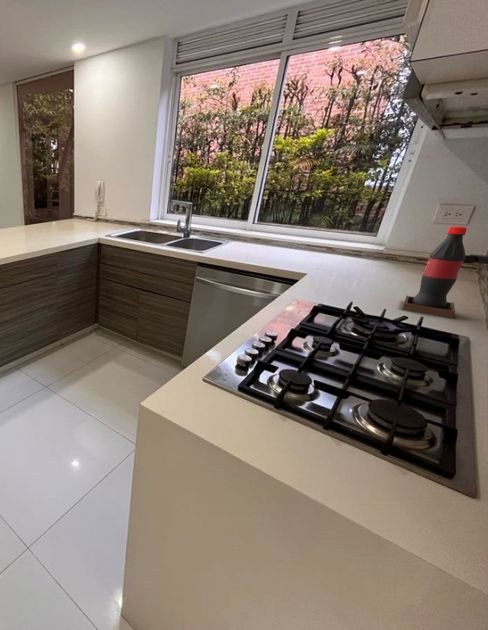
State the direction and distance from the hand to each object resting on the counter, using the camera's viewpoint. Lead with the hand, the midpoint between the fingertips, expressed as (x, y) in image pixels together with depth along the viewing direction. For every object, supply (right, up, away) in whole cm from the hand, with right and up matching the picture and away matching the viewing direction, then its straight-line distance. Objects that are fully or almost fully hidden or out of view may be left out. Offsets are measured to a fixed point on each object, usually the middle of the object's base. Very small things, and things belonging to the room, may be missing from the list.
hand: (470, 262), depth 116 cm
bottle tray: (-7, -17, +8) cm, 20 cm away
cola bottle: (-7, -17, +8) cm, 20 cm away
